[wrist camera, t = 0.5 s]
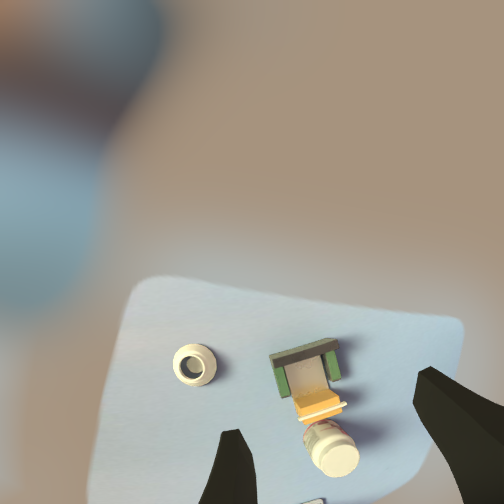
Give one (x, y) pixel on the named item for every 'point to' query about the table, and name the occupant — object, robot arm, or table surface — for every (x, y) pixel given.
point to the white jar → (195, 364)
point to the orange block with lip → (318, 406)
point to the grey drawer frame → (306, 368)
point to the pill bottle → (331, 448)
